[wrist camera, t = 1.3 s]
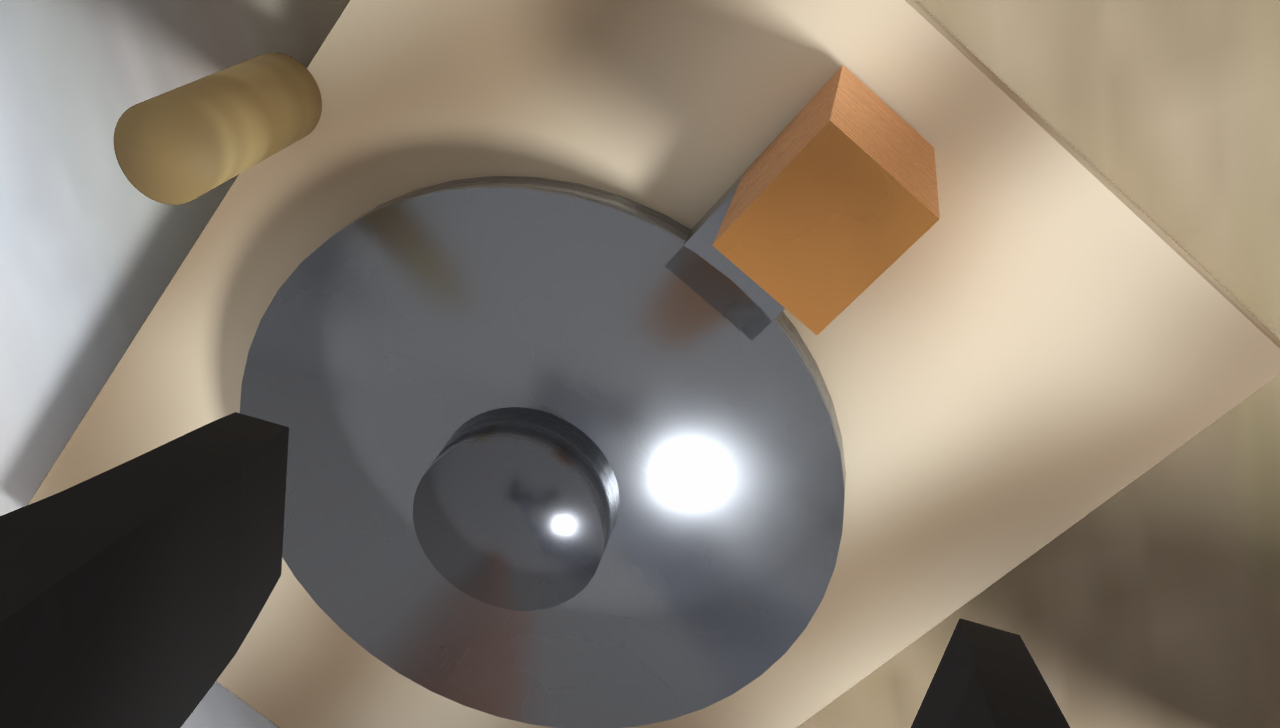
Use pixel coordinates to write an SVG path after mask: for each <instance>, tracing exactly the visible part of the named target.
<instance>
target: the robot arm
mask: <svg viewBox="0 0 1280 728" xmlns="http://www.w3.org/2000/svg"><path fill="white" fill-rule="evenodd" d="M288 440H289V427H286V426H283V425H279V424H276V423H272V422H269V421H265V420H262V419H258V418H255V417H251V416H248V415H244V414H241V413H237V412H234V413H232V414H230V415H227V416H225V417H222V418H220V419H218V420H215V421H213V422H211V423H209V424H206V425H204V426H202V427H200V428H198V429H196V430H193V431H191V432H189V433H187V434H185V435H183V436H181V437H178V438H176V439H174V440H172V441H170V442H168V443H166V444H164V445H161V446H159V447H157V448H155V449H153V450H151V451H149V452H147V453H144V454H142V455H140V456H138V457H136V458H134V459H132V460H129V461H127V462H125V463H123V464H121V465H119V466H116V467H114V468H112V469H110V470H108V471H105V472H103V473H101V474H99V475H97V476H94V477H92V478H90V479H88V480H86V481H83V482H81V483H79V484H77V485H75V486H72V487H70V488H68V489H66V490H64V491H61V492H59V493H57V494H54V495H52V496H49V497H47V498H45V499H42V500H40V501H37V502H35V503H32V504H30V505H27V506H25V507H22V508H20V509H18V510H15V511H13V512H10V513H8V514H5V515H3V516H0V728H180V727H181V726H182V725H183V723H184V722H185V721H186V720H187V718H188V717H189V716H190V714H191V713H192V712H193V710H194V709H195V708H196V706H197V705H198V704H199V702H200V701H201V700H202V699H203V697H204V696H205V695H206V693H207V692H208V691H209V689H210V688H211V687H212V685H213V684H214V683H215V681H216V680H217V679H218V677H219V676H220V675H221V673H222V672H223V671H224V669H225V668H226V667H227V665H228V664H229V663H230V661H231V660H232V659H233V657H234V656H235V655H236V653H237V651H238V650H239V648H240V646H241V645H242V643H243V641H244V640H245V638H246V636H247V634H248V633H249V631H250V629H251V628H252V626H253V624H254V623H255V621H256V619H257V618H258V616H259V614H260V612H261V610H262V609H263V607H264V605H265V603H266V602H267V600H268V598H269V596H270V594H271V593H272V591H273V589H274V587H275V585H276V584H277V582H278V580H279V578H280V576H281V570H282V551H283V533H284V514H285V496H286V477H287V458H288ZM911 728H1070V726H1069V725H1068V723H1067V721H1066V719H1065V717H1064V716H1063V714H1062V712H1061V710H1060V708H1059V706H1058V705H1057V703H1056V701H1055V699H1054V697H1053V695H1052V693H1051V692H1050V690H1049V688H1048V686H1047V684H1046V682H1045V681H1044V679H1043V677H1042V675H1041V673H1040V671H1039V670H1038V668H1037V666H1036V664H1035V662H1034V660H1033V659H1032V657H1031V655H1030V653H1029V651H1028V650H1027V648H1026V646H1025V644H1024V642H1023V640H1022V639H1021V637H1020V635H1017V634H1013V633H1010V632H1006V631H1003V630H999V629H995V628H992V627H988V626H985V625H981V624H978V623H974V622H971V621H967V620H964V619H959V621H958V624H957V626H956V628H955V630H954V633H953V635H952V637H951V639H950V642H949V644H948V646H947V648H946V650H945V653H944V655H943V657H942V659H941V662H940V664H939V666H938V668H937V671H936V673H935V675H934V677H933V679H932V682H931V684H930V686H929V688H928V691H927V693H926V695H925V697H924V700H923V702H922V704H921V706H920V709H919V711H918V713H917V715H916V717H915V720H914V722H913V724H912V726H911Z"/></svg>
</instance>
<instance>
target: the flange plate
mask: <svg viewBox="0 0 1280 728" xmlns="http://www.w3.org/2000/svg"><path fill="white" fill-rule="evenodd" d="M939 219H940V215H939V202H938V190H937V178H936V165H935V153H934V147H933V146H932V145H931V144H930V143H929V142H927V141H926V140H925V139H924V138H923V137H922V136H921V135H920V134H919V133H918V132H917V131H915V130H914V129H913V128H912V127H911V126H910V125H909V124H908V123H907V122H906V121H904V120H903V119H902V118H901V117H900V116H899V115H898V114H897V113H896V112H895V111H893V110H892V109H891V108H890V107H889V106H888V105H887V104H886V103H885V102H884V101H882V100H881V99H880V98H879V97H878V96H877V95H876V94H875V93H874V92H873V91H871V90H870V89H869V88H868V87H867V86H866V85H865V84H864V83H863V82H862V81H860V80H859V79H858V78H857V77H856V76H855V75H854V74H853V73H852V72H851V71H849V70H848V69H847V68H846V67H845V66H844V65H842V66H841V67H840V68H839V69H838V70H837V72H836V73H835V74H834V75H833V76H832V77H831V78H830V79H829V80H828V81H827V82H826V84H825V85H824V86H823V87H822V88H821V89H820V90H819V91H818V92H817V93H816V94H815V96H814V97H813V98H812V99H811V100H810V101H809V102H808V103H807V104H806V105H805V106H804V108H803V109H802V110H801V111H800V112H799V113H798V114H797V115H796V116H795V117H794V118H793V120H792V121H791V122H790V123H789V124H788V125H787V126H786V127H785V128H784V129H783V130H782V131H781V133H780V134H779V135H778V136H777V137H776V138H775V139H774V140H773V141H772V142H771V143H770V145H769V146H768V147H767V148H766V149H765V150H764V151H763V152H762V153H761V154H760V155H759V157H758V158H757V159H756V160H755V161H754V162H753V163H752V164H751V165H750V166H749V167H748V169H747V170H746V171H745V172H744V173H743V174H742V175H741V176H740V177H739V178H738V179H737V181H736V182H735V183H734V184H733V185H732V186H731V187H730V188H729V189H728V190H727V191H726V192H725V194H724V195H723V196H722V197H721V198H720V199H719V200H718V201H717V202H716V203H715V204H714V206H713V207H712V208H711V209H710V210H709V211H708V212H707V213H706V214H705V215H704V216H703V218H702V219H701V220H700V221H699V222H698V223H697V224H696V225H695V226H694V227H693V228H692V230H690V229H689V228H687V227H685V226H684V225H682V224H680V223H678V222H677V221H675V220H673V219H672V218H670V217H668V216H666V215H665V214H663V213H661V212H658V211H656V210H654V209H651V208H649V207H647V206H644V205H642V204H639V203H637V202H635V201H632V200H630V199H628V198H625V197H623V196H620V195H617V194H613V193H610V192H606V191H603V190H599V189H596V188H592V187H589V186H586V185H582V184H578V183H572V182H565V181H559V180H552V179H546V178H540V177H518V176H488V177H479V178H470V179H461V180H452V181H448V182H444V183H441V184H437V185H433V186H429V187H425V188H421V189H417V190H414V191H411V192H409V193H406V194H404V195H402V196H399V197H397V198H395V199H392V200H390V201H388V202H385V203H383V204H380V205H378V206H377V207H375V208H373V209H372V210H370V211H368V212H367V213H365V214H364V215H362V216H360V217H359V218H357V219H356V220H354V221H352V222H351V223H349V224H347V225H346V226H345V227H343V228H342V229H341V230H340V231H338V232H337V233H336V234H334V235H333V236H332V237H330V238H329V239H328V240H327V241H326V242H324V243H323V244H322V245H321V246H320V247H319V248H317V249H316V250H315V251H314V252H313V253H312V254H310V255H309V256H308V257H307V258H306V259H305V260H303V261H302V262H301V263H300V264H299V266H298V267H297V268H296V269H295V270H294V272H293V273H292V274H291V275H290V276H289V278H288V279H287V280H286V281H285V282H284V283H283V285H282V286H281V287H280V288H279V289H278V291H277V293H276V295H275V296H274V298H273V300H272V301H271V303H270V305H269V306H268V308H267V310H266V311H265V313H264V315H263V317H262V318H261V320H260V323H259V325H258V328H257V331H256V333H255V336H254V338H253V341H252V343H251V346H250V349H249V352H248V356H247V361H246V365H245V370H244V375H243V379H242V385H241V400H240V413H241V414H244V415H248V416H251V417H255V418H258V419H262V420H265V421H269V422H272V423H276V424H279V425H283V426H286V427H289V440H288V458H287V477H286V496H285V514H284V533H283V551H282V557H283V559H284V561H285V562H286V564H287V565H288V567H289V568H290V570H291V572H292V573H293V575H294V576H295V578H296V579H297V580H298V581H299V583H300V584H301V585H302V586H303V588H304V589H305V590H306V591H307V593H308V594H309V595H310V596H311V598H312V599H313V600H314V601H315V603H316V604H317V605H318V606H319V607H320V608H321V609H322V610H323V611H324V612H325V613H326V614H327V615H328V616H329V617H330V618H331V619H332V620H333V621H334V622H335V623H336V624H337V625H338V627H339V628H340V629H341V630H342V631H344V632H345V633H346V634H347V635H348V636H350V637H351V638H352V639H353V640H354V641H356V642H357V643H358V644H359V645H360V646H362V647H363V648H364V649H365V650H366V651H368V652H369V653H370V654H371V655H373V656H374V657H376V658H377V659H379V660H380V661H382V662H383V663H385V664H386V665H387V666H389V667H390V668H392V669H393V670H395V671H396V672H398V673H399V674H401V675H403V676H404V677H406V678H408V679H410V680H412V681H413V682H415V683H417V684H419V685H421V686H422V687H424V688H426V689H428V690H430V691H432V692H434V693H436V694H438V695H441V696H443V697H445V698H448V699H450V700H452V701H454V702H457V703H459V704H461V705H464V706H466V707H469V708H473V709H476V710H479V711H482V712H485V713H488V714H491V715H494V716H497V717H501V718H505V719H510V720H514V721H519V722H523V723H527V724H532V725H539V726H547V727H555V728H627V727H638V726H643V725H648V724H653V723H657V722H662V721H667V720H672V719H675V718H677V717H680V716H683V715H686V714H689V713H692V712H695V711H698V710H701V709H704V708H706V707H708V706H710V705H712V704H714V703H716V702H718V701H720V700H722V699H724V698H726V697H728V696H731V695H733V694H734V693H736V692H737V691H739V690H740V689H742V688H743V687H745V686H746V685H748V684H749V683H751V682H752V681H754V680H755V679H757V678H758V677H760V676H761V675H762V674H763V673H764V672H765V671H767V670H768V669H769V668H770V667H771V666H772V665H773V664H774V663H775V662H776V661H778V660H779V659H780V658H781V657H782V656H783V655H784V654H785V653H786V652H787V651H788V650H789V648H790V647H791V646H792V645H793V643H794V642H795V641H796V640H797V639H798V637H799V636H800V635H801V634H802V632H803V631H804V630H805V629H806V627H807V626H808V624H809V622H810V620H811V619H812V617H813V615H814V614H815V612H816V610H817V608H818V607H819V605H820V603H821V601H822V600H823V598H824V595H825V592H826V590H827V587H828V584H829V582H830V579H831V577H832V574H833V571H834V569H835V565H836V561H837V556H838V551H839V546H840V541H841V537H842V530H843V519H844V505H845V483H846V470H845V461H844V451H843V442H842V435H841V432H840V428H839V424H838V420H837V416H836V412H835V409H834V405H833V401H832V398H831V396H830V394H829V391H828V389H827V386H826V384H825V382H824V379H823V377H822V375H821V372H820V370H819V367H818V365H817V363H816V361H815V359H814V358H813V356H812V354H811V353H810V351H809V349H808V348H807V346H806V344H805V343H804V341H803V339H802V338H801V336H800V334H799V333H798V331H797V329H796V328H795V326H794V325H793V324H792V322H791V321H790V320H789V319H788V317H787V316H786V315H785V314H784V312H783V310H784V309H787V310H788V311H789V312H790V313H791V314H792V315H793V316H795V317H796V318H797V319H798V320H799V321H800V322H802V323H803V324H804V325H805V326H806V327H807V328H809V329H810V330H811V331H812V332H813V333H814V334H815V335H818V334H819V333H820V332H821V331H822V330H824V329H825V328H826V327H827V326H828V325H829V324H830V323H831V322H832V321H833V320H834V319H835V318H836V317H837V316H838V315H839V314H840V313H841V312H842V311H844V310H845V309H846V308H847V307H848V306H849V305H850V304H851V303H852V302H853V301H854V300H855V299H856V298H857V297H858V296H859V295H860V294H861V293H863V292H864V291H865V290H866V289H867V288H868V287H869V286H870V285H871V284H872V283H873V282H874V281H875V280H876V279H877V278H878V277H879V276H880V275H881V274H883V273H884V272H885V271H886V270H887V269H888V268H889V267H890V266H891V265H892V264H893V263H894V262H895V261H896V260H897V259H898V258H899V257H900V256H902V255H903V254H904V253H905V252H906V251H907V250H908V249H909V248H910V247H911V246H912V245H913V244H914V243H915V242H916V241H917V240H918V239H919V238H920V237H922V236H923V235H924V234H925V233H926V232H927V231H928V230H929V229H930V228H931V227H932V226H933V225H934V224H935V223H936V222H937V221H938V220H939Z"/></svg>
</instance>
